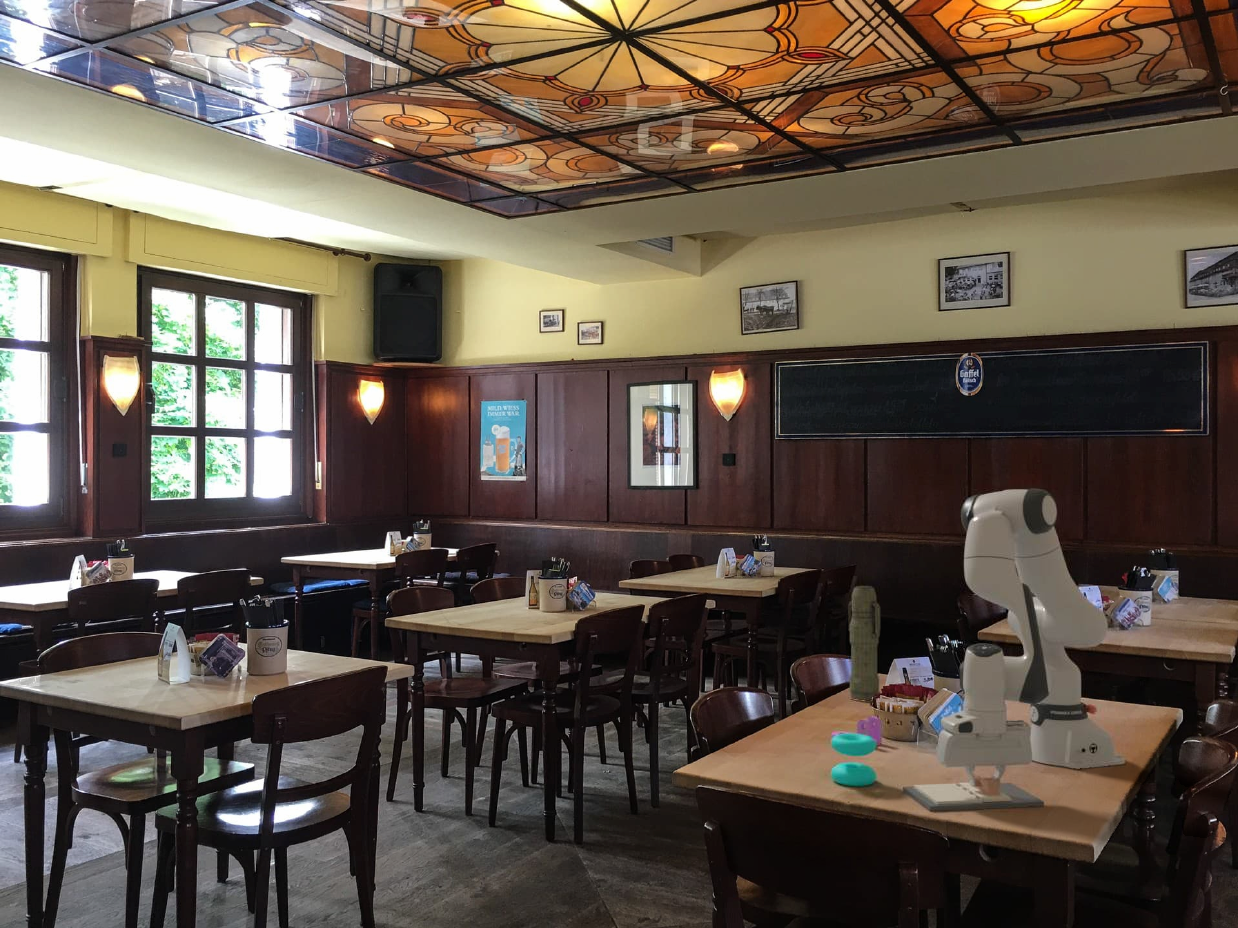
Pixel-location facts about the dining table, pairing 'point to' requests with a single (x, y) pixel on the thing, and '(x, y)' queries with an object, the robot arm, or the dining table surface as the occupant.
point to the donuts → (853, 771)
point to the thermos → (864, 642)
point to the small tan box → (986, 788)
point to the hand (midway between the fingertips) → (985, 785)
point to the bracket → (868, 729)
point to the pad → (967, 797)
